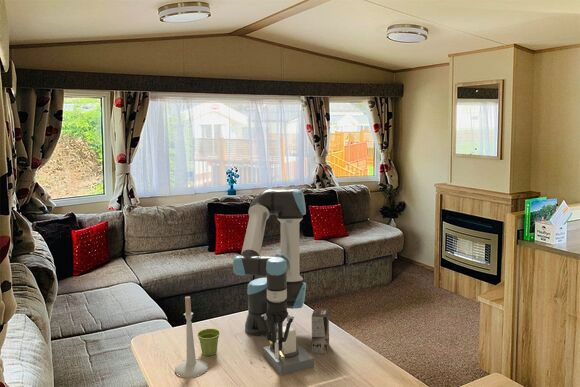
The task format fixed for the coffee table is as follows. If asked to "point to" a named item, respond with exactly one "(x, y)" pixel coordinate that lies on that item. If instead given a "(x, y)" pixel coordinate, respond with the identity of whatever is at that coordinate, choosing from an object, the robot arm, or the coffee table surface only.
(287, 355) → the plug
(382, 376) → the coffee table surface
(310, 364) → the socket
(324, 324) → the coffee box
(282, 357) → the tan long thin stick
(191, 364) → the candlestick
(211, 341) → the plant pot
